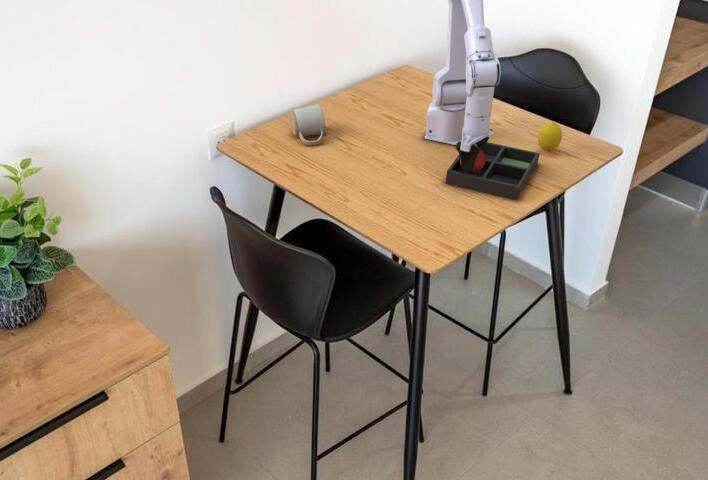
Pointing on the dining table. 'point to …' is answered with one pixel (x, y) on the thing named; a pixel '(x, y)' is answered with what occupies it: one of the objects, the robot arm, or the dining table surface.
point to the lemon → (550, 136)
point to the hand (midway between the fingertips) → (471, 164)
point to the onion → (478, 162)
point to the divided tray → (497, 171)
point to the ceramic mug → (308, 123)
